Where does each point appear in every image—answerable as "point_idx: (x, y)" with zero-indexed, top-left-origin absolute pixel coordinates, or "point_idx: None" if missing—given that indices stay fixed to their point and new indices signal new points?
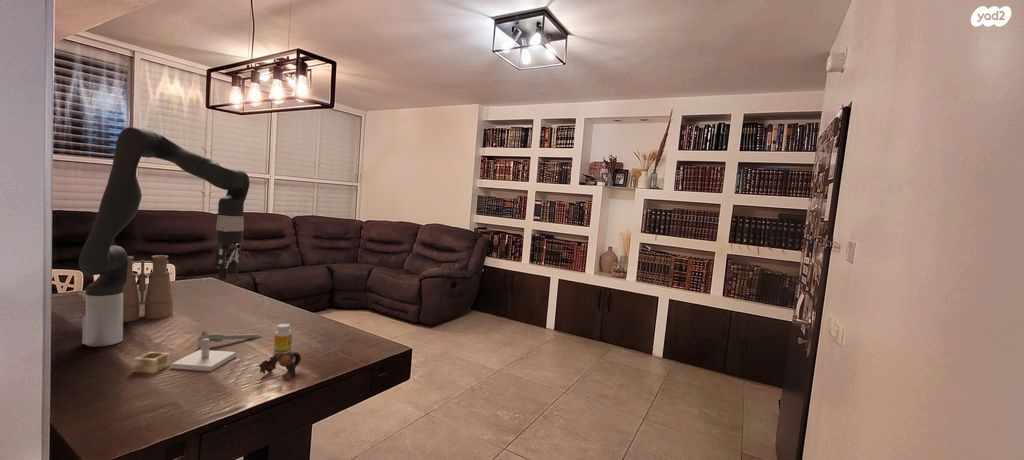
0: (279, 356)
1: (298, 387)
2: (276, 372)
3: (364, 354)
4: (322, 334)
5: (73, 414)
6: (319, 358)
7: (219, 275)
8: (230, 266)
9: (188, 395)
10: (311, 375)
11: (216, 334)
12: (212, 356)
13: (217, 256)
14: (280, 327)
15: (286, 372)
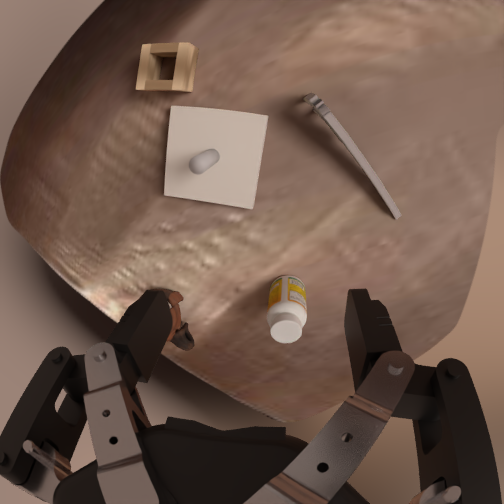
0: None
1: None
2: (180, 302)
3: (270, 393)
4: None
5: (34, 103)
6: (250, 349)
7: (125, 313)
8: (360, 338)
9: (84, 207)
10: None
11: (336, 132)
12: (220, 169)
13: (19, 417)
14: (270, 328)
15: None
